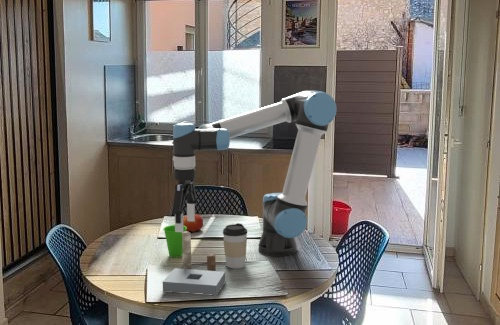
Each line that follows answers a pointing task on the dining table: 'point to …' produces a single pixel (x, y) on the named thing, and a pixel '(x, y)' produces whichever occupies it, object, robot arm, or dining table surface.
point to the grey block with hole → (194, 281)
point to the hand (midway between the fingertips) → (185, 226)
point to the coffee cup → (235, 245)
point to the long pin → (186, 249)
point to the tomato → (193, 223)
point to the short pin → (211, 262)
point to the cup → (174, 241)
